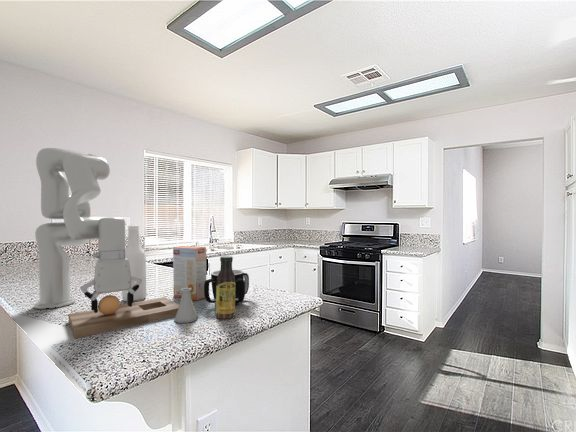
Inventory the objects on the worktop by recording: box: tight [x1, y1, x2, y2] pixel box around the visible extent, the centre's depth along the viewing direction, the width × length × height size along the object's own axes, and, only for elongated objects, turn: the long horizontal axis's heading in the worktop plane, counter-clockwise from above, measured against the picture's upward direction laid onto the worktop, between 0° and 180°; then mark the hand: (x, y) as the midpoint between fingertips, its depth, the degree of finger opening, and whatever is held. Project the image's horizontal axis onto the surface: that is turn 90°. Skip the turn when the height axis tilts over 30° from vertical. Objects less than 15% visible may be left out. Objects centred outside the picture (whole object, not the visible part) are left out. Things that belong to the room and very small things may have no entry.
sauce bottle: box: [215, 255, 236, 320], centre depth 101 cm, size 6×6×20 cm
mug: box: [204, 269, 250, 306], centre depth 116 cm, size 16×16×12 cm
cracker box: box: [172, 245, 207, 301], centre depth 126 cm, size 14×6×21 cm, turn 58°
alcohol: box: [121, 225, 147, 303], centre depth 124 cm, size 9×9×30 cm
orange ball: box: [98, 294, 121, 315], centre depth 97 cm, size 6×6×6 cm
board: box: [68, 296, 180, 339], centre depth 101 cm, size 18×30×2 cm, turn 130°
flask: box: [173, 288, 199, 324], centre depth 98 cm, size 7×7×10 cm
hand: (113, 308), depth 98 cm, fingers open, 9 cm apart
